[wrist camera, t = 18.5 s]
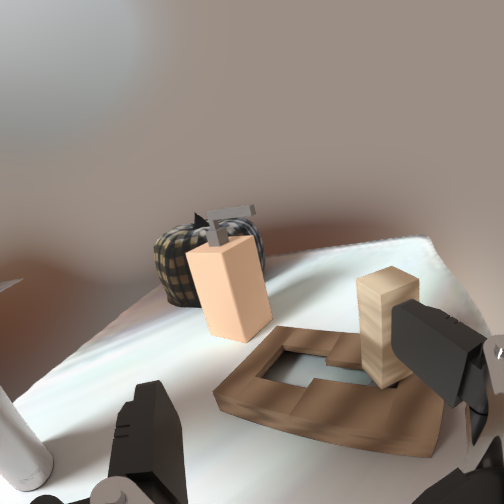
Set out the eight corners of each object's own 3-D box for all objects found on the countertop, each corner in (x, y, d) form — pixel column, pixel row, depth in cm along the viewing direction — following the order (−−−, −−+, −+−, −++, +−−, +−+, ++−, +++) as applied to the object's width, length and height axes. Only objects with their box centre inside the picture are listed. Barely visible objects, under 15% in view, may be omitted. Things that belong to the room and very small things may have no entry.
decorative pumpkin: (287, 262, 85) (272, 191, 79) (231, 315, 61) (205, 220, 56) (206, 265, 100) (190, 206, 95) (142, 305, 77) (118, 234, 72)
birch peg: (378, 420, 27) (379, 298, 23) (358, 394, 32) (349, 278, 28) (416, 400, 28) (425, 278, 24) (393, 377, 33) (392, 263, 29)
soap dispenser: (210, 335, 55) (175, 220, 49) (238, 313, 61) (210, 207, 55) (266, 347, 47) (233, 212, 41) (292, 320, 54) (267, 198, 48)
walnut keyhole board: (220, 410, 35) (212, 391, 34) (281, 343, 47) (276, 325, 46) (430, 457, 20) (437, 438, 19) (447, 358, 32) (450, 337, 31)
